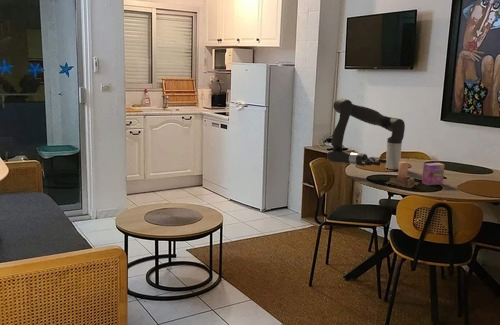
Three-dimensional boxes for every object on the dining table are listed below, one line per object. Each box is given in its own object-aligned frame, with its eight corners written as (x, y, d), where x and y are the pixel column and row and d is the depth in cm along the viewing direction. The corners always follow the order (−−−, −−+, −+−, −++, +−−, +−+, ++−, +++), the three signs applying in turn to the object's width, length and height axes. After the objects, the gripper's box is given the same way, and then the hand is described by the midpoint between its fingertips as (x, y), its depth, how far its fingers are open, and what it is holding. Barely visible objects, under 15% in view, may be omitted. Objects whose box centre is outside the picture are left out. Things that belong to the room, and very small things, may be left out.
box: (427, 185, 285) (429, 165, 283) (421, 182, 291) (423, 163, 288) (443, 184, 288) (445, 164, 286) (436, 182, 293) (438, 162, 291)
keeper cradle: (394, 179, 297) (394, 173, 296) (419, 183, 288) (419, 177, 287) (384, 183, 286) (385, 177, 286) (410, 188, 277) (410, 182, 277)
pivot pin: (399, 181, 291) (401, 161, 288) (407, 182, 288) (409, 162, 285) (396, 182, 287) (397, 162, 284) (404, 184, 284) (406, 163, 281)
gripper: (353, 154, 297) (378, 158, 287) (363, 151, 308) (388, 154, 298) (352, 167, 298) (377, 171, 288) (363, 163, 309) (387, 167, 299)
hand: (383, 162), depth 293 cm, fingers open, 8 cm apart
